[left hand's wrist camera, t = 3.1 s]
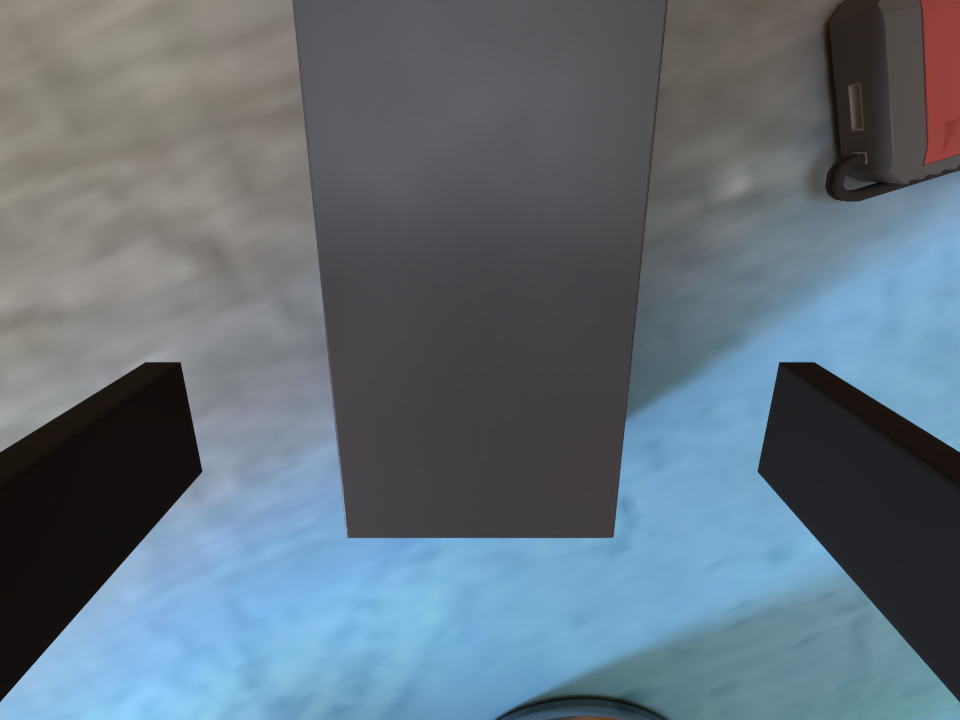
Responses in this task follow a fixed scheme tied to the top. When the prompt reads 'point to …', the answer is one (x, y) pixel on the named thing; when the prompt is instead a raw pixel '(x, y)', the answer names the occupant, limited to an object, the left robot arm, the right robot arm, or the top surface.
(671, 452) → the top surface
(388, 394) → the slab
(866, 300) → the top surface
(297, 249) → the top surface
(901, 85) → the walkie-talkie
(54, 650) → the top surface
